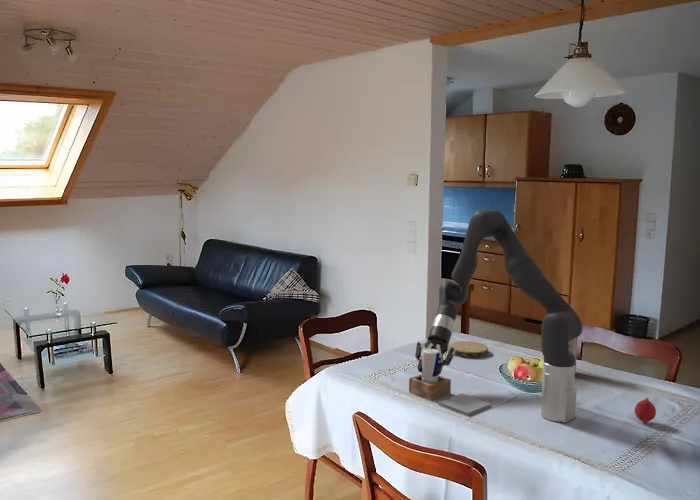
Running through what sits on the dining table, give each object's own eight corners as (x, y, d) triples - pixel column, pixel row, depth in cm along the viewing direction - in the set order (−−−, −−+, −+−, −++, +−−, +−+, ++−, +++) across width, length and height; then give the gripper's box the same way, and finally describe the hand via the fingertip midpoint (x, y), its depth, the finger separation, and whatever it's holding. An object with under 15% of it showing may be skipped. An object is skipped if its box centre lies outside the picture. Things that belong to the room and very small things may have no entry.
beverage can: (437, 396, 205) (438, 353, 203) (420, 395, 206) (421, 352, 204) (438, 390, 210) (439, 348, 209) (422, 389, 212) (423, 347, 210)
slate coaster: (491, 406, 197) (491, 403, 196) (467, 416, 189) (467, 413, 189) (461, 396, 206) (461, 393, 205) (438, 404, 198) (438, 401, 198)
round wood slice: (479, 361, 244) (479, 354, 244) (442, 354, 253) (443, 347, 253) (493, 351, 258) (493, 344, 257) (458, 345, 266) (458, 339, 266)
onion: (654, 428, 180) (655, 402, 179) (632, 424, 183) (634, 398, 182) (656, 421, 185) (657, 396, 184) (635, 417, 188) (637, 392, 187)
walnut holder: (450, 393, 208) (450, 379, 207) (430, 400, 201) (431, 386, 201) (428, 385, 215) (428, 372, 215) (408, 392, 209) (409, 378, 208)
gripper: (419, 322, 215) (405, 364, 207) (458, 327, 208) (445, 370, 200) (425, 333, 221) (411, 374, 212) (463, 338, 214) (450, 381, 205)
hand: (428, 372), depth 206 cm, fingers closed on beverage can, 5 cm apart
